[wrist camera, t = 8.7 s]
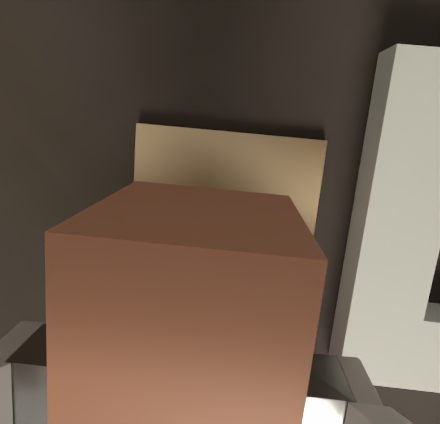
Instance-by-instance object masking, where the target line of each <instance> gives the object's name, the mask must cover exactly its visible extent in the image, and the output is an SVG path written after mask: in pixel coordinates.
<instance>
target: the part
mask: <svg viewBox="0 0 440 424" xmlns="http://www.w3.org/2000/svg"><path fill="white" fill-rule="evenodd" d="M327 264H328V260H327V258H326V257H325V255H324V253H323V252H322V250H321V248H320V246H319V245H318V243H317V241H316V240H315V238H314V236H313V235H312V233H311V231H310V230H309V228H308V226H307V225H306V223H305V221H304V220H303V218H302V216H301V215H300V213H299V211H298V210H297V208H296V206H295V205H294V203H293V201H292V200H291V198H290V196H288V195H277V194H267V193H257V192H246V191H236V190H225V189H215V188H205V187H194V186H184V185H174V184H163V183H153V182H142V181H135V182H133V183H131V184H130V185H128V186H126V187H124V188H123V189H121V190H119V191H117V192H115V193H114V194H112V195H110V196H108V197H106V198H105V199H103V200H101V201H99V202H97V203H96V204H94V205H92V206H90V207H88V208H87V209H85V210H83V211H81V212H79V213H78V214H76V215H74V216H72V217H70V218H69V219H67V220H65V221H63V222H62V223H60V224H58V225H56V226H54V227H53V228H51V229H49V230H47V231H45V279H46V347H47V414H48V424H302V422H303V416H304V409H305V403H306V397H307V390H308V384H309V378H310V372H311V365H312V359H313V353H314V346H315V340H316V334H317V327H318V321H319V315H320V308H321V302H322V296H323V290H324V283H325V277H326V271H327Z"/></svg>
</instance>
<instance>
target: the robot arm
mask: <svg viewBox="0 0 440 424" xmlns="http://www.w3.org/2000/svg"><path fill="white" fill-rule="evenodd" d="M0 424H48V414H47V347H46V323H44V322H34V321H21V322H20V323H19V324H18V325H16V326H15V327H14V328H13V329H12V330H11V331H10V332H9V333H7V334H6V335H5V336H4V337H3V338H2V339H1V340H0ZM302 424H413V423H412V422H411V421H409V420H408V419H407V418H405V417H404V416H402V415H401V414H400V413H398V412H397V411H395V410H394V409H393V408H391V407H385V406H383V404H382V402H381V400H380V398H379V396H378V394H377V392H376V390H375V388H374V386H373V384H372V382H371V380H370V378H369V376H368V374H367V372H366V370H365V368H364V366H363V364H362V362H361V360H360V359H359V358H357V357H347V356H334V355H322V354H313V359H312V365H311V372H310V378H309V384H308V390H307V397H306V403H305V409H304V416H303V422H302Z"/></svg>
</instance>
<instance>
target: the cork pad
mask: <svg viewBox="0 0 440 424" xmlns="http://www.w3.org/2000/svg"><path fill="white" fill-rule="evenodd" d="M327 142H328V141H326V140H317V139H306V138H295V137H285V136H274V135H263V134H252V133H241V132H230V131H219V130H208V129H197V128H186V127H175V126H165V125H154V124H143V123H136V142H135V167H134V182H135V181H142V182H153V183H163V184H174V185H184V186H194V187H205V188H215V189H225V190H236V191H246V192H257V193H267V194H277V195H288V196H290V198H291V200H292V201H293V203H294V205H295V206H296V208H297V210H298V211H299V213H300V215H301V216H302V218H303V220H304V221H305V223H306V225H307V226H308V228H309V230H310V231H311V233H312V235H313V236H314V230H315V223H316V216H317V209H318V203H319V196H320V189H321V182H322V175H323V169H324V162H325V155H326V148H327Z"/></svg>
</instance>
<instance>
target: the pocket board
mask: <svg viewBox="0 0 440 424" xmlns="http://www.w3.org/2000/svg"><path fill="white" fill-rule="evenodd" d="M439 250H440V47H432V46H420V45H407V44H396V45H394V46H392V47H390V48H388V49H386V50H384V51H382V52H380V53H379V54H378V60H377V66H376V72H375V78H374V84H373V90H372V96H371V102H370V108H369V114H368V119H367V125H366V131H365V137H364V143H363V149H362V155H361V161H360V167H359V173H358V179H357V185H356V191H355V197H354V203H353V209H352V215H351V221H350V227H349V233H348V239H347V245H346V250H345V256H344V262H343V268H342V274H341V280H340V286H339V292H338V298H337V304H336V310H335V316H334V322H333V328H332V334H331V340H330V346H329V352H328V355H334V356H347V357H357V358H359V359H360V360H361V362H362V364H363V366H364V368H365V370H366V372H367V374H368V376H369V378H370V380H371V382H372V384H373V385H377V386H385V387H394V388H403V389H411V390H420V391H428V392H437V393H440V303H430V302H428V299H429V294H430V290H431V285H432V281H433V276H434V272H435V268H436V263H437V259H438V254H439Z"/></svg>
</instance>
